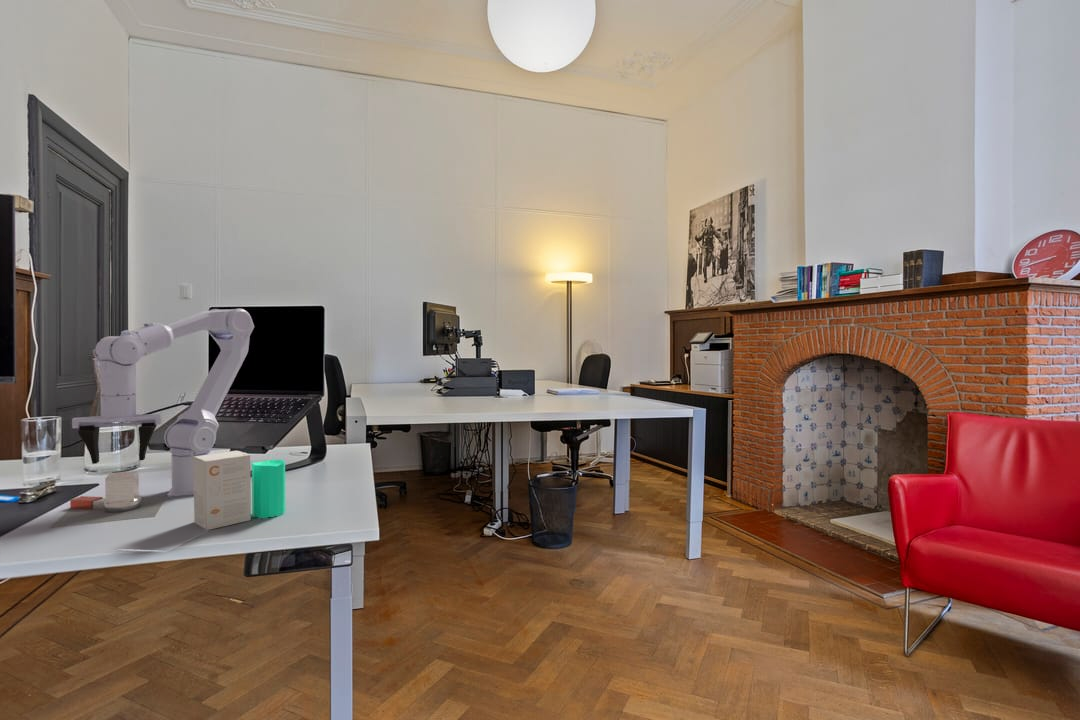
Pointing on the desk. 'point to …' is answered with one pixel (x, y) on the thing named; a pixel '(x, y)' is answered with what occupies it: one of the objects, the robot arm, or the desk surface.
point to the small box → (222, 489)
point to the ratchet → (105, 504)
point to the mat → (98, 515)
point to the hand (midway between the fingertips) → (119, 461)
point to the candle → (268, 488)
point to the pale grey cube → (121, 486)
